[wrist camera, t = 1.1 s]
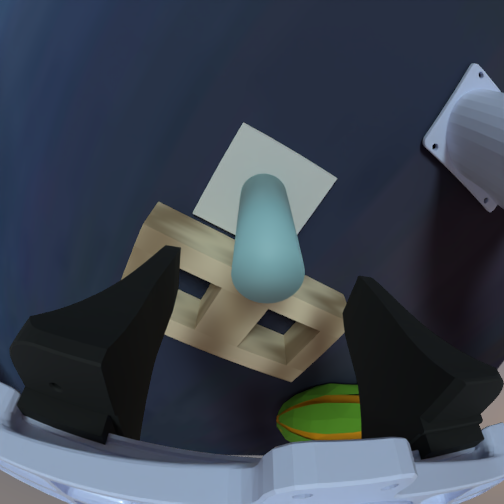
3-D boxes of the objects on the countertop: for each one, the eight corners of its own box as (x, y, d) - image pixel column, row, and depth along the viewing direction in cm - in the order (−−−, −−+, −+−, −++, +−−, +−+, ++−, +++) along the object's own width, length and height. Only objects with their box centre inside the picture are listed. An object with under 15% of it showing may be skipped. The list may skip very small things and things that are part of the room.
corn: (287, 439, 24) (460, 423, 26) (284, 370, 30) (442, 371, 32) (270, 462, 28) (426, 450, 30) (270, 404, 35) (413, 402, 36)
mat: (336, 177, 20) (337, 178, 20) (280, 255, 24) (280, 257, 23) (243, 122, 19) (243, 123, 18) (193, 211, 22) (192, 213, 22)
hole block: (343, 294, 25) (353, 323, 22) (288, 352, 29) (291, 382, 26) (158, 201, 21) (143, 223, 18) (125, 281, 25) (110, 309, 22)
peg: (295, 187, 21) (319, 263, 13) (271, 223, 22) (279, 312, 14) (255, 165, 20) (254, 230, 12) (232, 203, 21) (218, 285, 13)
